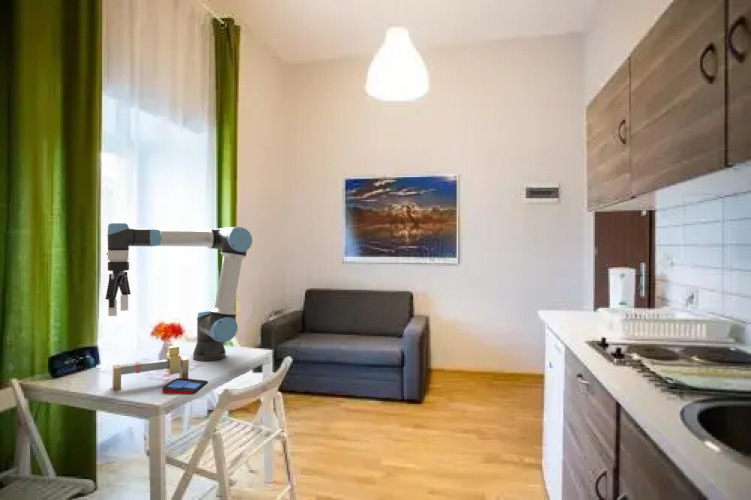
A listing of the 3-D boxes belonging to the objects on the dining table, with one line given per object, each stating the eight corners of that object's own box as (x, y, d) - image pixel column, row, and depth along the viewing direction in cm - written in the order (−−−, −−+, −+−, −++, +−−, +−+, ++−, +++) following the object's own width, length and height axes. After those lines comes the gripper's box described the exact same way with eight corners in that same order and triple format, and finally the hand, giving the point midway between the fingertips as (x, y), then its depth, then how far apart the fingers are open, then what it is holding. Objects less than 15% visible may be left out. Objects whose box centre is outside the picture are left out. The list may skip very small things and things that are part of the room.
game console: (193, 395, 163) (193, 389, 163) (159, 394, 163) (159, 388, 163) (208, 383, 177) (208, 377, 177) (177, 382, 177) (177, 377, 177)
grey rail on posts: (185, 376, 184) (185, 356, 184) (188, 379, 180) (188, 358, 180) (112, 387, 169) (112, 364, 169) (113, 391, 165) (113, 367, 164)
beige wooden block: (177, 368, 183) (177, 344, 183) (180, 373, 177) (181, 347, 177) (166, 370, 180) (166, 345, 180) (169, 374, 175) (170, 349, 175)
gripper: (119, 259, 189) (119, 308, 190) (95, 262, 165) (96, 318, 165) (138, 259, 191) (138, 308, 191) (117, 262, 166) (118, 318, 167)
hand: (118, 313), depth 178 cm, fingers open, 13 cm apart
